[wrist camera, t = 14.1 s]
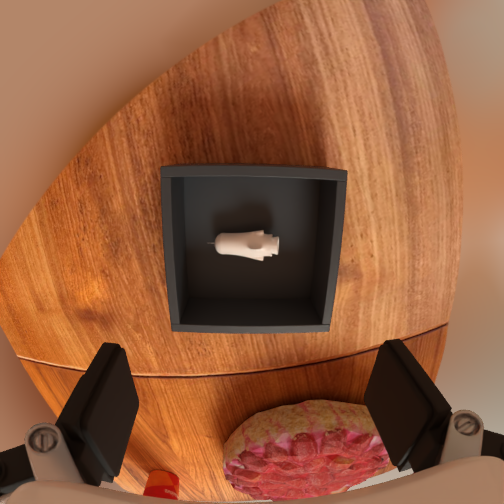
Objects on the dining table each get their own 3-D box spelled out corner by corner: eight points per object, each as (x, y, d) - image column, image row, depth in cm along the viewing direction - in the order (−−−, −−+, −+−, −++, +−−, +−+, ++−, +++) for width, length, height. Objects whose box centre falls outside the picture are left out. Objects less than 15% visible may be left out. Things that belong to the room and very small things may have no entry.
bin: (176, 163, 25) (160, 166, 20) (327, 167, 26) (347, 170, 21) (182, 302, 30) (171, 331, 24) (315, 302, 30) (329, 331, 25)
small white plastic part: (221, 207, 26) (218, 214, 23) (282, 234, 27) (287, 244, 24) (206, 243, 27) (201, 254, 24) (265, 268, 28) (268, 281, 25)
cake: (401, 377, 33) (421, 421, 26) (369, 463, 42) (377, 497, 34) (210, 397, 35) (201, 448, 27) (237, 477, 43) (234, 512, 36)
